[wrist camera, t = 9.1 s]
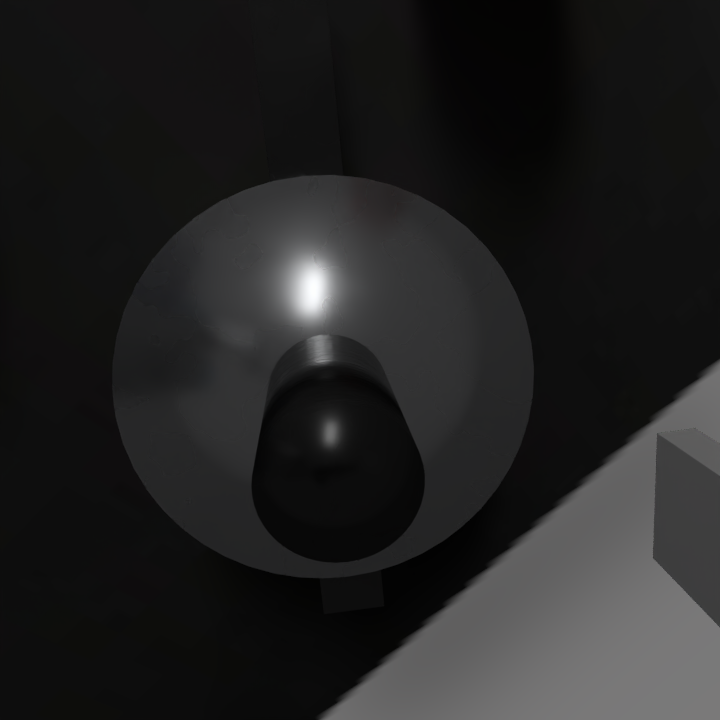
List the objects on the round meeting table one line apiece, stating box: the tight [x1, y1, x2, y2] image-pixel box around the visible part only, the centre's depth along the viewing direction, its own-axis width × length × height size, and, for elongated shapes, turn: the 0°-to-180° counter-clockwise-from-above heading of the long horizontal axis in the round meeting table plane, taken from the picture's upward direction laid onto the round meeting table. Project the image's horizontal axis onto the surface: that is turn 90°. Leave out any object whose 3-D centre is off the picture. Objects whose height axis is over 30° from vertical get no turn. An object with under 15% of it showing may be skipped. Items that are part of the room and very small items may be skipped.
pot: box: [248, 0, 384, 614], centre depth 26 cm, size 13×26×8 cm, turn 5°
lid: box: [112, 175, 534, 578], centre depth 19 cm, size 14×14×8 cm
